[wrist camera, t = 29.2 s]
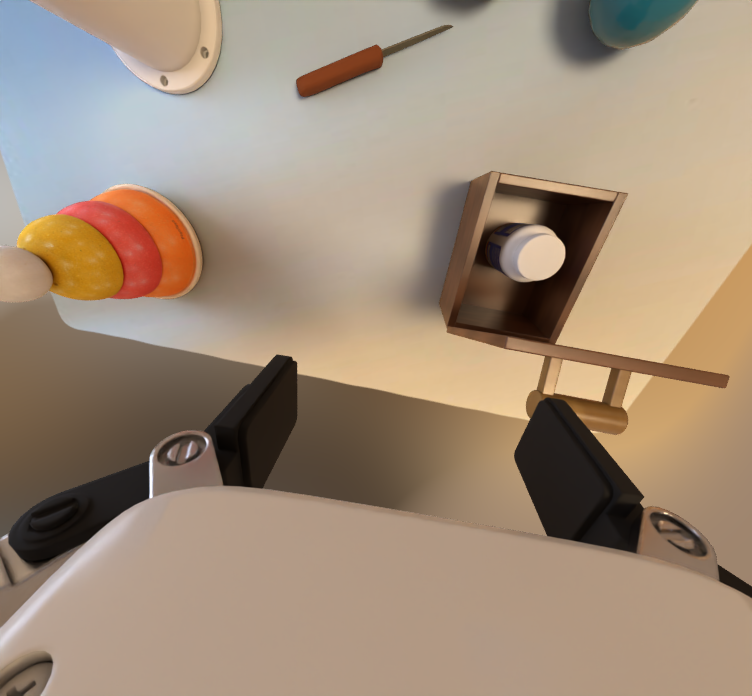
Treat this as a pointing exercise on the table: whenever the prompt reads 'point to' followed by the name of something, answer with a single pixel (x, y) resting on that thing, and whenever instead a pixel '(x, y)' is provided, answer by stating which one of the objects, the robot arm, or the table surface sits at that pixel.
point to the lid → (591, 412)
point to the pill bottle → (525, 251)
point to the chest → (502, 294)
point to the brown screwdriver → (355, 65)
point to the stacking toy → (105, 250)
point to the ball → (634, 20)
